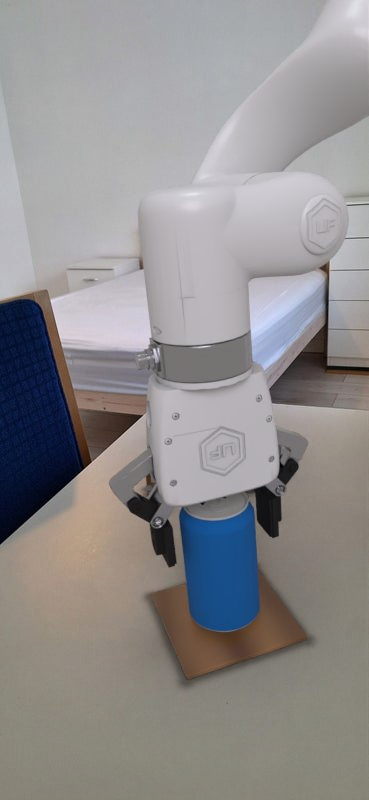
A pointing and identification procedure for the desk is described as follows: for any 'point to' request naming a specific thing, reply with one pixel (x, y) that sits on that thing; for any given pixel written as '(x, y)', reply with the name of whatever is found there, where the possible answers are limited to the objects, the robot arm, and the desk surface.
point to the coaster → (223, 649)
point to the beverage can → (221, 562)
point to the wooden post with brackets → (149, 484)
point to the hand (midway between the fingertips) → (218, 543)
